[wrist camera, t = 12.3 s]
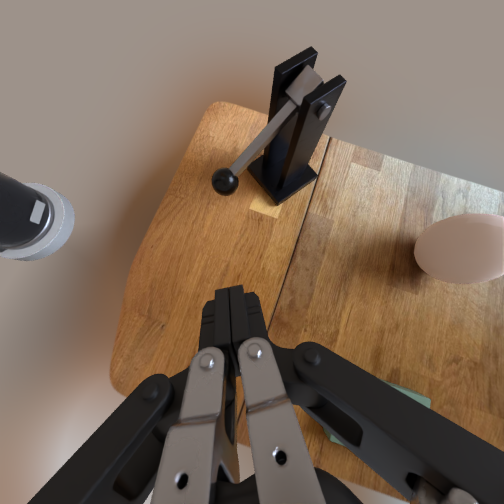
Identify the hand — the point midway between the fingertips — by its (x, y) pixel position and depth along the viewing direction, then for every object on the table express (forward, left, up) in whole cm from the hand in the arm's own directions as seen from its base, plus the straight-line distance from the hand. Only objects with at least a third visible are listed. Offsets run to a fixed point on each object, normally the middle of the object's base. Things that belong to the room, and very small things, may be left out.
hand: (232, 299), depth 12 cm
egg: (+26, -12, -19) cm, 35 cm away
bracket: (+17, +12, -19) cm, 28 cm away
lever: (+13, +12, -9) cm, 20 cm away
